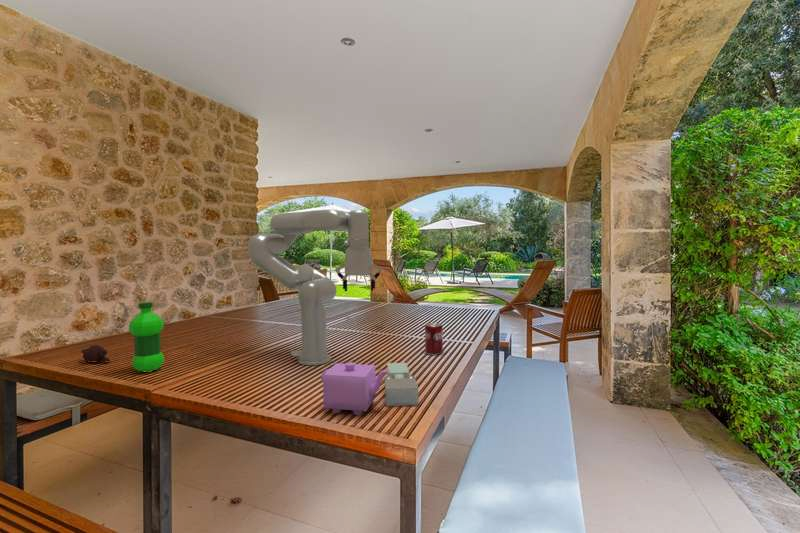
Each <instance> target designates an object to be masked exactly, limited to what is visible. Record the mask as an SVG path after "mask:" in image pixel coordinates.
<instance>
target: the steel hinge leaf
mask: <svg viewBox="0 0 800 533" xmlns="http://www.w3.org/2000/svg"><path fill="white" fill-rule="evenodd" d="M384 393H385V406H386V407H402V406H403V407H405V406H406V407H409V406H419V387H418V383H417V380H416V377H415V375H411V374H409V375H407V378H399V379H392V376H388V375H384Z"/></svg>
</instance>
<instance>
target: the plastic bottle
mask: <svg viewBox="0 0 800 533" xmlns="http://www.w3.org/2000/svg"><path fill="white" fill-rule="evenodd" d="M153 307H154V302H153V301H145V302H144V301H143V302H139V303H138V309H140V313H138V314H137V315H136V316H135V317H134V318H132V320H130V322H129V324H128V329H129V330H128V331H129V333H130V334H131V335H133V343H134V344H133V346H134V356H133V358H132V360H131V365H132V366H133V368H134V369H135V370H136V371H138V372H140V371H151V370H155V369H157V370H158V369H159V368H160V367H161V366H162V365H163V364H164V361H165V356H164V353H163V352H162V351H161V350H162V349H161V348H162V347H161V345H162V344H161V332H162V331H163V329H164V325H165V321H164V320H163V318H162V317H160V316H159V315H158V314H157V313H155V312H152V308H153Z"/></svg>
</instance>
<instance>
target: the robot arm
mask: <svg viewBox="0 0 800 533" xmlns="http://www.w3.org/2000/svg"><path fill="white" fill-rule="evenodd" d="M269 222H270V223H269V225H270V228H271V230H272V231H273V232H274V233H258V234H255V235H253V236H251V237H250V238H249V240H248V242H247V252H248V255H249V258H250V260H251V261H252V262H253V264H254V265H255V266H256V267H258V268H259V269H260V270H261V271H263V272H265V273H266V274H268V275H269V276H271V277H272V278H273V279H274V280H276V281H277V282H279V283H280V284H281V285H282V286H284V287H285V288H287V289H289V290H298V292H297V297H298V298H297V299H298V302H299V307H300V308H299V309H300V322H301V323H300V326H301V349H298V350H291V351H290V356H292V357H293V358H296V357H297V358H298V359H297V362H298V364H300V365H303V366H317V365H318V366H321V365H324V364H328V363H329V362H331V360H332V355H330V354H328V346H327V345H328V344H327V343H328V341H327V339H328V338H327V337H328V336H327V312H326V308H325V306H324V303H328V302H329V301H332V300H333V299H335V296H336V295H337V285H336V283H335V282H334V281H333V280H331V279H330V278H329V277H328V276H327V275H325V274H324V273H322V272H320V271H319V270H318V269H316V268H314V267H313V266H310V265H307V264H298V265H297V264H293V263H291V262H289V261H288V260H286V259H285V258H283V257H282V256H280V255H281V254H283V253H284V252H286V251H287V250H288V249H289V248H290V247H291V245H292V244H293V243H294V242H295V241H296V240H297V239H298V238H299V236H300V235H304V234H305V235H306V234H307V235H309V234H311V233H312V232H324V231H332V232H333V231H336V232H347V233H348V234H347V238H348V239H347V240H346V241H343V243H344V244H343V245H344V246H347V248H345V254H344V263H343V264H342V265H340V266H337V267H335V269H334V271H335V273H336V274H337V276H338V277H339V278H340V279H341V280H342V289H343V290H344V292H348V279H347V278H348V277H349V276H369V277H370V278H371V279H370V291H371V292H373V291H374V290H375V289H376V280H377V278H378V277H380V274H381V273H382V272H383V267H381V266H379V265H377V264H375V263H373V253H372V248H371V247H370V245H369V244H370V241H369V240H370V238H369V235H370V234H369V233H370V232H369V231H370V230H369V229H370V228H369V227H370V226H369V223H370V222H369V213H368V212H367V211H366V210H359V209H358V210H357V209H355V210H349V211H345V210H338V209H317V210H309V211H308V210H307V211H297V212H295V211H293V212H280V213H277V214H276V213H275V214H274V215H273V216H272V217H271V219H270V221H269ZM343 269H344V274H342V273H341V270H343ZM373 269H376V270H377V272H376V273H375V274H373V271H374V270H373Z"/></svg>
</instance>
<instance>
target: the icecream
mask: <svg viewBox="0 0 800 533" xmlns="http://www.w3.org/2000/svg"><path fill="white" fill-rule="evenodd" d="M80 352H81V353H82V354H83V355H82V358H83V360H84V361H85V362H87V361H90V362H91V363H93V362H92V361H99V362H101V361H102V362H103V361H110V359H109V357H107V356H106V355H107V354H108V353H109V352H108V350H107V349H105V347H103V346H101V345H99V344H95V345H90V347H88V348H85V349H81V350H80ZM100 360H101V361H100Z"/></svg>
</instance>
